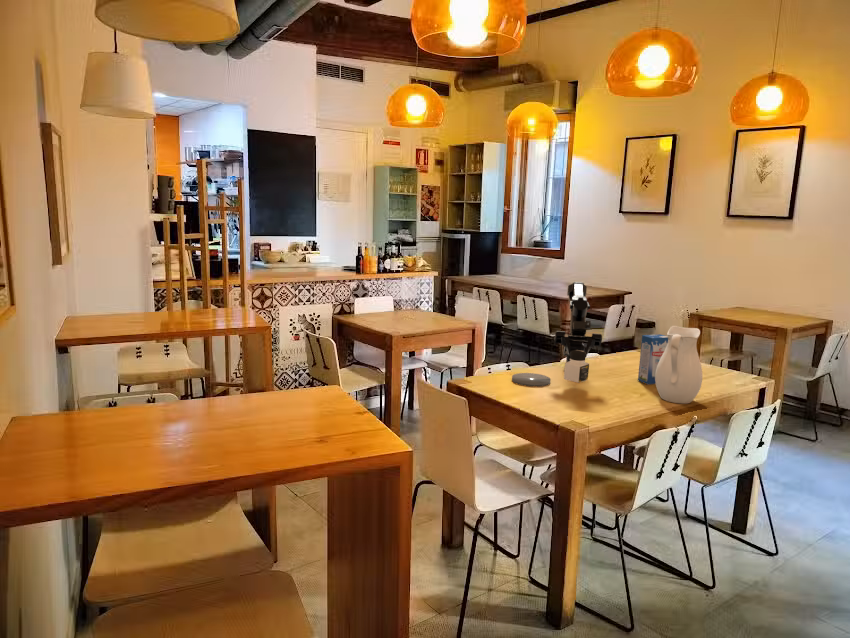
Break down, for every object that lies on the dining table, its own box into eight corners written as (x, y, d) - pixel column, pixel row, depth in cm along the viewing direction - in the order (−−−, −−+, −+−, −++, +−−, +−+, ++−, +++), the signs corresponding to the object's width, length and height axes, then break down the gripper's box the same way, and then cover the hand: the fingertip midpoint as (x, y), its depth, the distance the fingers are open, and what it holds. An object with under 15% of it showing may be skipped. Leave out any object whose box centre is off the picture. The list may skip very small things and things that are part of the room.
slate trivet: (514, 374, 274) (514, 371, 273) (551, 378, 270) (552, 375, 269) (509, 384, 259) (509, 380, 258) (548, 388, 254) (549, 384, 254)
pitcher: (659, 390, 257) (666, 323, 252) (703, 399, 247) (711, 329, 242) (642, 404, 237) (649, 331, 232) (689, 413, 228) (698, 338, 223)
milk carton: (656, 379, 275) (660, 334, 272) (666, 382, 269) (671, 337, 266) (637, 380, 271) (642, 335, 268) (647, 384, 266) (652, 338, 262)
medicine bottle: (578, 383, 251) (581, 354, 249) (563, 379, 256) (565, 350, 254) (588, 380, 256) (590, 351, 254) (572, 376, 261) (575, 348, 259)
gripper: (556, 311, 258) (555, 343, 250) (603, 314, 255) (603, 346, 246) (555, 326, 267) (553, 358, 259) (600, 329, 264) (600, 361, 256)
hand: (577, 355), depth 255 cm, fingers closed on medicine bottle, 6 cm apart
